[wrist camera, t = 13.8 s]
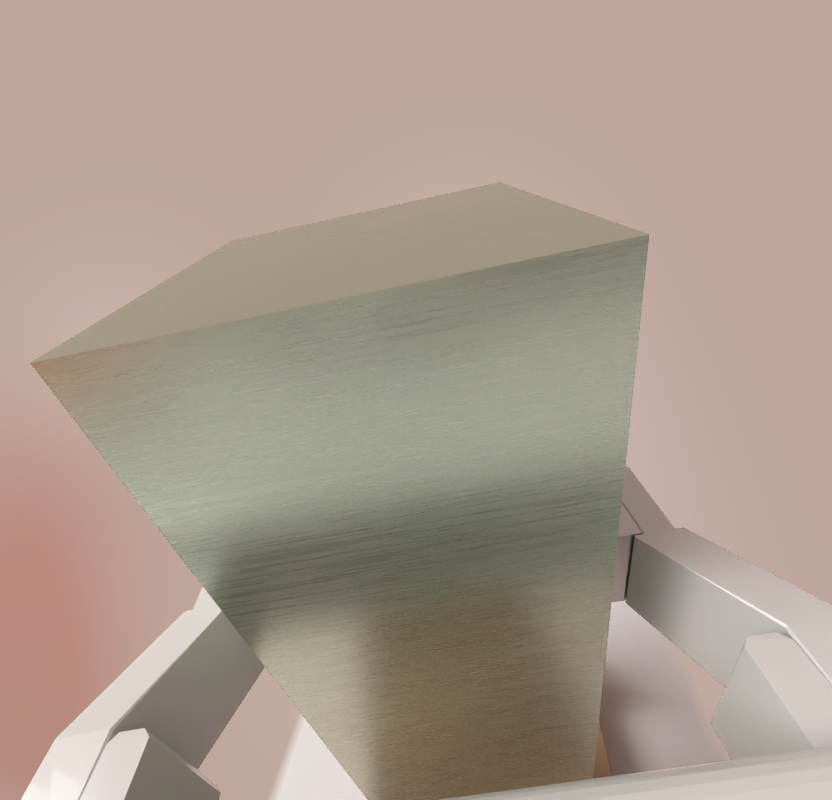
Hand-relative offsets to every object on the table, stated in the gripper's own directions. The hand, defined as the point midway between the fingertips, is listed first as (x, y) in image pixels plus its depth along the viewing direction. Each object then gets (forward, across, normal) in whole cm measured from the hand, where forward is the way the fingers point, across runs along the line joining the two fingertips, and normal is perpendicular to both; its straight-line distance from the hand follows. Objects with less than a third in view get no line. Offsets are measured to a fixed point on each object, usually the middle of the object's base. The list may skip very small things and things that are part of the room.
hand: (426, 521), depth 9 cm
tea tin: (0, 0, +7) cm, 7 cm away
